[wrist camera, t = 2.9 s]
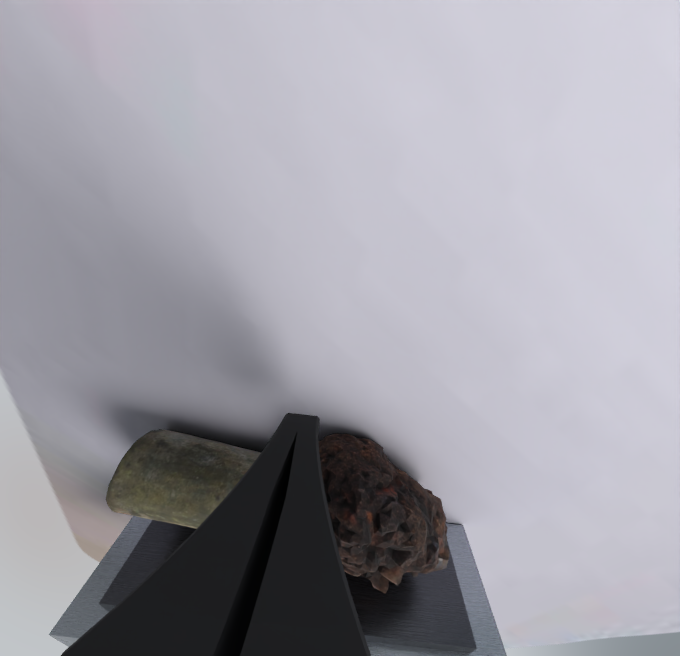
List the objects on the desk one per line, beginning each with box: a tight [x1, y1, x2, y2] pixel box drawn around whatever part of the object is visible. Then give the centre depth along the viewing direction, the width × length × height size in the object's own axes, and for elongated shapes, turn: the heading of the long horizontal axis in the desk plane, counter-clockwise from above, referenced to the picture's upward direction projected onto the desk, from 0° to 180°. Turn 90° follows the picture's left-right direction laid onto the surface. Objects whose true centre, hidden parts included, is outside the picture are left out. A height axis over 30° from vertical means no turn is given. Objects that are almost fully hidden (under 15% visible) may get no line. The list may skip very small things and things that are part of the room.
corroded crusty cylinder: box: [106, 429, 449, 594], centre depth 13 cm, size 18×7×6 cm, turn 79°
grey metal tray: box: [49, 516, 506, 656], centre depth 16 cm, size 5×24×7 cm, turn 85°
